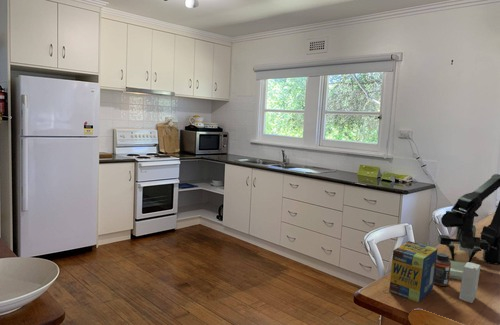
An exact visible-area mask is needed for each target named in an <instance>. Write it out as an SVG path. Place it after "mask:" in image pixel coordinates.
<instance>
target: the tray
mask: <svg viewBox="0 0 500 325" xmlns="http://www.w3.org/2000/svg"><path fill="white" fill-rule="evenodd" d="M449 261H450V262H451V268H450V277H449V279H455V280H461V281H462V276H463V270H464V266H465V265H466V263H465V262H457V261H455V260H454V261H452V260H449ZM479 281H480V278H479V279H478V283H479Z"/></svg>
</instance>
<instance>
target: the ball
mask: <svg viewBox="0 0 500 325" xmlns="http://www.w3.org/2000/svg"><path fill="white" fill-rule="evenodd" d="M454 261H457V262H465V263H467V262H468V261H469V255H468V254H467V253H466V252H465V251H462V250H459V251H458V250H456V251H454Z"/></svg>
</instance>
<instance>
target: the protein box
mask: <svg viewBox="0 0 500 325" xmlns="http://www.w3.org/2000/svg"><path fill="white" fill-rule="evenodd" d="M437 253H438V248H436V247H432V246H429V245H425V244H421V243H418V242H414V241H410V240H409V241H406V242H405V243H403V244H402V245H400V246H398V247H397V248H394V249H393V251H392V259H391V260H392V261H391V270H390V279H389V290H388V292H389V293H392V294H394V295H396V296H400V297H403V298H406V299H408V300H411V301H413V302H416V303H420V302H421V301H422V300H423V299H424V298H425V297H426V296H427V295H428V294H430V293H431V292H432V290H433V289H434V275H435V267H436V258H437Z"/></svg>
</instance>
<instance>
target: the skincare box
mask: <svg viewBox="0 0 500 325" xmlns="http://www.w3.org/2000/svg"><path fill="white" fill-rule="evenodd" d="M480 271H481V264H477V263H473V262H472V263H470V262H467V263H466V265H465V266H464V270H463V276H462V280H461V284H460V289H459V297H458V300H462V301H463V302H464V301H465V302H468V303H471V304H472V303H474V301H475V299H476V296H477V292H478V287H479V286H478V285H479V282H478V279H479V280H480Z"/></svg>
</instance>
